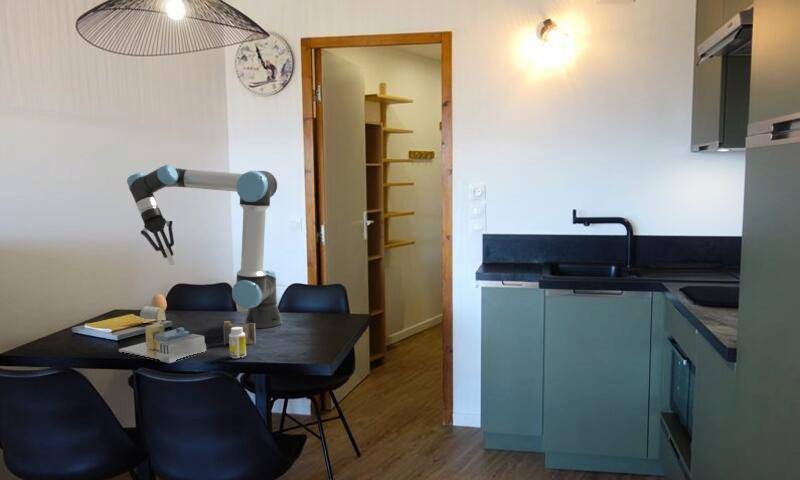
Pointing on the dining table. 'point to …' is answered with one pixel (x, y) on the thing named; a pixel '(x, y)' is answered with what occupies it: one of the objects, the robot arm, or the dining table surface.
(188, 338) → the grey building model
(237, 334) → the supplement bottle
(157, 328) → the beige wooden block
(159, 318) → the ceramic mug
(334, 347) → the dining table surface
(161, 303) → the egg
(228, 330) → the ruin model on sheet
